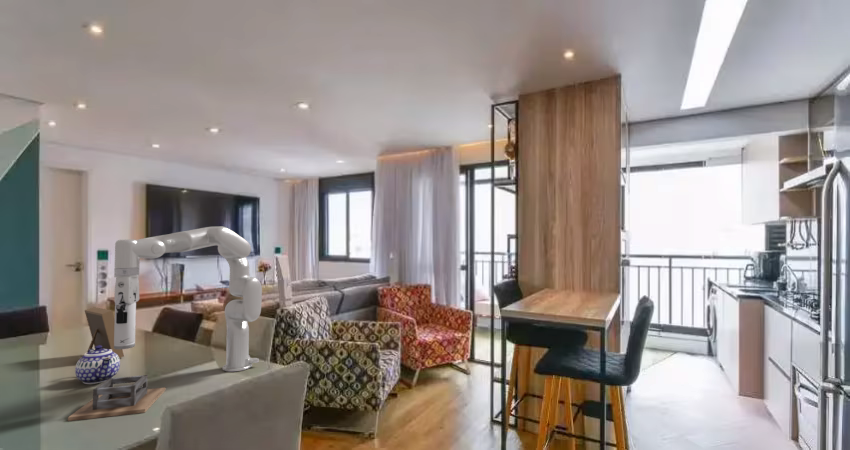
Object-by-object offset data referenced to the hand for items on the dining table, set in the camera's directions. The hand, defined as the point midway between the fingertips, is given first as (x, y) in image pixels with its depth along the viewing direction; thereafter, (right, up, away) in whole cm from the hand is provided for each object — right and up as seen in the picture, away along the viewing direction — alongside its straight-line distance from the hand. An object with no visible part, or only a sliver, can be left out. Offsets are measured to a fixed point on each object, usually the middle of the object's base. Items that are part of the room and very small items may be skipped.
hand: (125, 321), depth 150 cm
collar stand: (0, -30, -2) cm, 30 cm away
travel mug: (0, -10, 0) cm, 10 cm away
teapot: (-30, -31, +24) cm, 50 cm away
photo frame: (-56, -33, +57) cm, 87 cm away
